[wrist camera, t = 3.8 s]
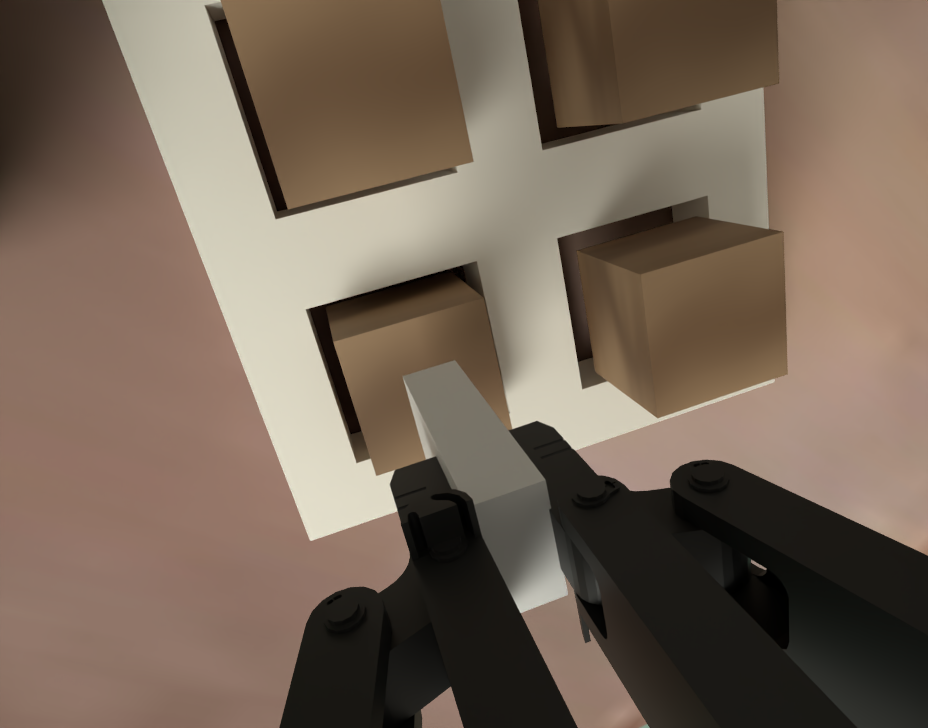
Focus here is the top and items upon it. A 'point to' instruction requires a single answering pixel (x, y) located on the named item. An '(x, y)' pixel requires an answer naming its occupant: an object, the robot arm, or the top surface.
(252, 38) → the button
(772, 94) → the top surface
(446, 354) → the button
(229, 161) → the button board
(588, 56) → the button
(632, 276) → the button
